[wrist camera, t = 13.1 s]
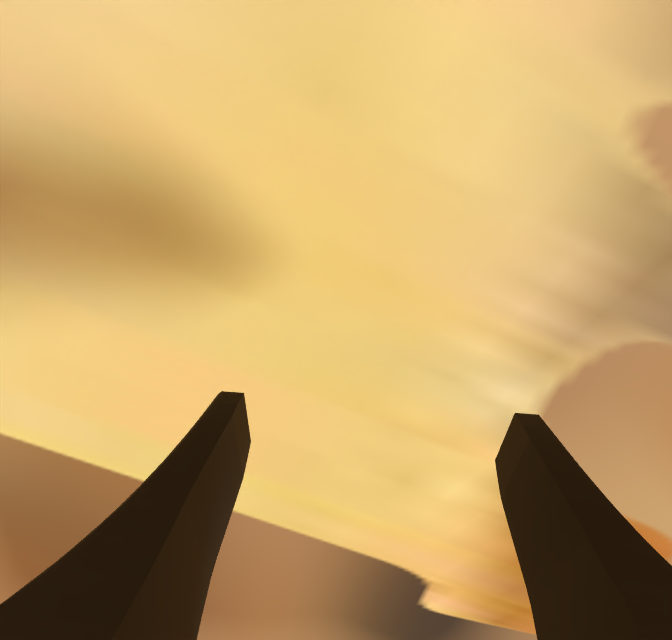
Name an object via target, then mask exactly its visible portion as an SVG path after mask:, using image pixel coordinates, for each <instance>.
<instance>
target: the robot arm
mask: <svg viewBox="0 0 672 640" xmlns="http://www.w3.org/2000/svg"><path fill="white" fill-rule="evenodd" d="M250 443H251V439H250V432H249V425H248V418H247V411H246V404H245V397H244V393H236V392H223V391H222V392H220V393H219V394H218V395H217V396H216V398H215V399H214V400H213V402H212V403H211V404H210V406H209V407H208V408H207V409H206V411H205V412H204V413H203V415H202V416H201V417H200V418H199V420H198V421H197V422H196V423H195V425H194V426H193V427H192V428H191V430H190V431H189V432H188V433H187V434H186V436H185V437H184V438H183V439H182V440H181V441H180V443H179V444H178V445H177V446H176V447H175V448H174V450H173V451H172V452H171V453H170V454H169V455H168V457H167V458H166V459H165V460H164V461H163V462H162V463H161V464H160V465H159V466H158V467H157V469H156V470H155V471H154V472H153V473H152V474H151V475H150V476H149V477H148V478H147V479H146V480H145V481H144V482H143V483H142V485H141V486H140V487H139V488H138V489H137V490H136V491H135V492H134V493H133V494H132V495H131V496H130V497H129V498H128V499H127V500H126V501H125V502H123V503H122V505H120V506H119V507H118V508H117V509H116V510H115V511H114V512H113V513H112V514H111V515H110V516H109V517H108V518H106V519H105V520H104V521H103V522H102V523H101V524H100V525H99V526H98V527H97V528H95V529H94V530H93V531H92V532H91V533H90V534H88V535H87V536H86V537H85V538H84V539H83V540H81V541H80V542H79V543H78V544H77V545H76V546H75V547H73V548H72V549H71V550H70V551H69V552H67V553H66V554H65V555H64V556H63V557H61V558H60V559H59V560H58V561H56V562H55V563H54V564H53V565H51V566H50V567H49V568H47V569H46V570H45V571H44V572H42V573H41V574H40V575H39V576H37V577H36V578H34V579H33V580H32V581H31V582H29V583H28V584H27V585H25V586H24V587H23V588H21V589H20V590H19V591H18V592H16V593H15V594H14V595H12V596H11V597H10V598H8V599H7V600H6V601H4V602H3V603H2V604H0V640H197V635H198V631H199V626H200V622H201V617H202V613H203V608H204V605H205V600H206V596H207V591H208V588H209V584H210V579H211V576H212V572H213V569H214V566H215V562H216V559H217V556H218V553H219V550H220V547H221V543H222V541H223V538H224V535H225V531H226V529H227V526H228V523H229V520H230V516H231V514H232V511H233V508H234V505H235V501H236V498H237V495H238V492H239V489H240V486H241V483H242V480H243V476H244V472H245V467H246V463H247V458H248V453H249V448H250ZM495 463H496V470H497V477H498V483H499V489H500V495H501V500H502V504H503V507H504V511H505V515H506V518H507V522H508V525H509V529H510V532H511V536H512V539H513V543H514V546H515V550H516V553H517V557H518V560H519V564H520V567H521V571H522V574H523V577H524V581H525V584H526V588H527V592H528V596H529V600H530V604H531V608H532V613H533V619H534V624H535V629H536V634H537V639H538V640H672V566H671V565H670V564H669V563H668V562H667V561H666V560H665V559H664V558H663V557H662V556H661V555H660V554H659V553H658V552H657V551H656V550H655V549H654V548H653V547H652V546H651V545H650V544H649V543H648V542H647V541H646V540H645V539H644V538H643V537H642V536H641V535H640V534H639V533H638V532H637V531H636V530H635V529H634V527H633V526H632V525H631V524H630V523H629V522H628V521H627V520H626V519H625V518H624V517H623V516H622V515H621V513H620V512H619V511H618V510H617V509H616V508H615V507H614V506H613V504H612V503H611V502H610V501H609V500H608V499H607V498H606V497H605V495H604V494H603V493H602V492H601V491H600V490H599V488H598V487H597V486H596V485H595V484H594V482H593V481H592V480H591V479H590V478H589V477H588V475H587V474H586V473H585V472H584V471H583V469H582V468H581V467H580V466H579V465H578V463H577V462H576V461H575V460H574V458H573V457H572V456H571V455H570V453H569V452H568V451H567V450H566V449H565V447H564V446H563V445H562V443H561V442H560V441H559V440H558V438H557V437H556V436H555V435H554V433H553V432H552V431H551V430H550V428H549V427H548V426H547V425H546V423H545V422H544V421H543V420H542V418H541V417H540V416H539V415H535V414H521V413H515V414H514V416H513V419H512V421H511V423H510V426H509V428H508V431H507V433H506V435H505V438H504V440H503V443H502V445H501V447H500V450H499V452H498V455H497V457H496V459H495Z"/></svg>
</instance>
